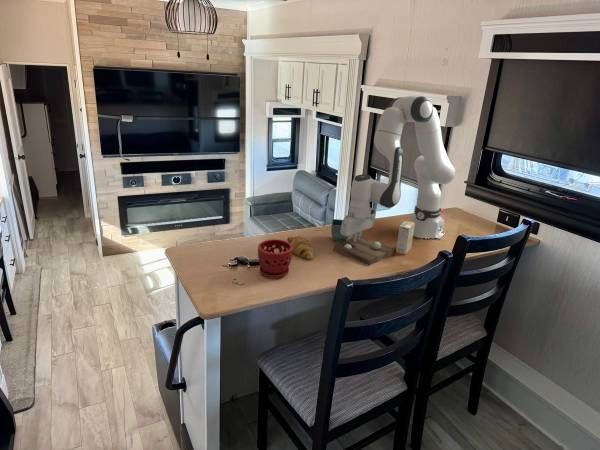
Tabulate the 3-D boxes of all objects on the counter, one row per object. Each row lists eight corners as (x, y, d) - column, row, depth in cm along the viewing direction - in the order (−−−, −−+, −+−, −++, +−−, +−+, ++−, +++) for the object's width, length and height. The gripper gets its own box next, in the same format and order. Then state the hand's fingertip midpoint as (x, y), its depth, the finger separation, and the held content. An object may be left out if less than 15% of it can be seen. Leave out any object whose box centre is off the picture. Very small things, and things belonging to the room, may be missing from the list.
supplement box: (401, 246, 193) (404, 220, 188) (411, 249, 191) (415, 222, 186) (395, 252, 186) (399, 225, 182) (405, 255, 184) (409, 227, 179)
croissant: (316, 267, 176) (325, 251, 176) (299, 261, 170) (308, 244, 170) (293, 248, 193) (300, 233, 193) (276, 241, 187) (284, 226, 187)
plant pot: (250, 272, 161) (250, 244, 157) (276, 263, 170) (276, 236, 166) (272, 285, 153) (273, 255, 149) (298, 274, 161) (299, 246, 157)
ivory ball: (346, 249, 187) (347, 242, 186) (352, 251, 185) (353, 244, 184) (342, 250, 185) (343, 243, 184) (348, 253, 182) (349, 246, 182)
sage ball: (375, 246, 185) (376, 239, 184) (382, 249, 183) (382, 242, 182) (371, 248, 183) (372, 241, 181) (377, 251, 180) (378, 244, 179)
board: (357, 240, 197) (357, 235, 196) (393, 254, 184) (393, 249, 184) (332, 250, 185) (333, 245, 184) (369, 265, 172) (370, 260, 171)
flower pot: (348, 237, 201) (350, 220, 198) (348, 244, 193) (350, 226, 190) (330, 236, 202) (331, 218, 199) (329, 242, 193) (331, 224, 190)
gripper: (350, 218, 174) (347, 248, 178) (378, 209, 188) (374, 237, 192) (338, 214, 178) (335, 244, 182) (366, 205, 192) (363, 233, 196)
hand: (355, 240), depth 187 cm, fingers closed
